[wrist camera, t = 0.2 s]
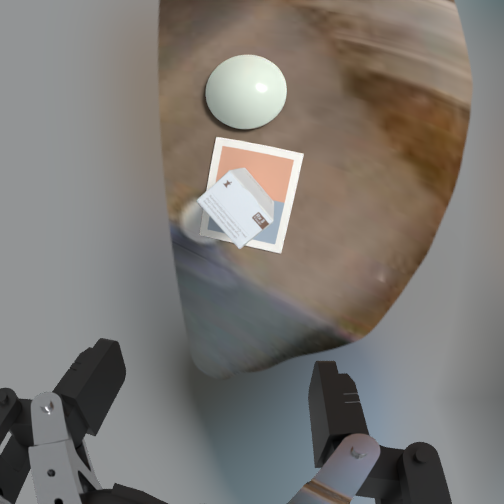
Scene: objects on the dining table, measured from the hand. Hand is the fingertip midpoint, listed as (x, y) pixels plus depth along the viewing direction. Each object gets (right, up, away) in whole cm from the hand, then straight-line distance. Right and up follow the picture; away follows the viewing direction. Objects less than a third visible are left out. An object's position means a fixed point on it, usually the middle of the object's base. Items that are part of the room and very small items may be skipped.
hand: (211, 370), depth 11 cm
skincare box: (+1, +12, +26) cm, 29 cm away
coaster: (+1, +25, +22) cm, 33 cm away
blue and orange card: (+1, +12, +26) cm, 29 cm away
